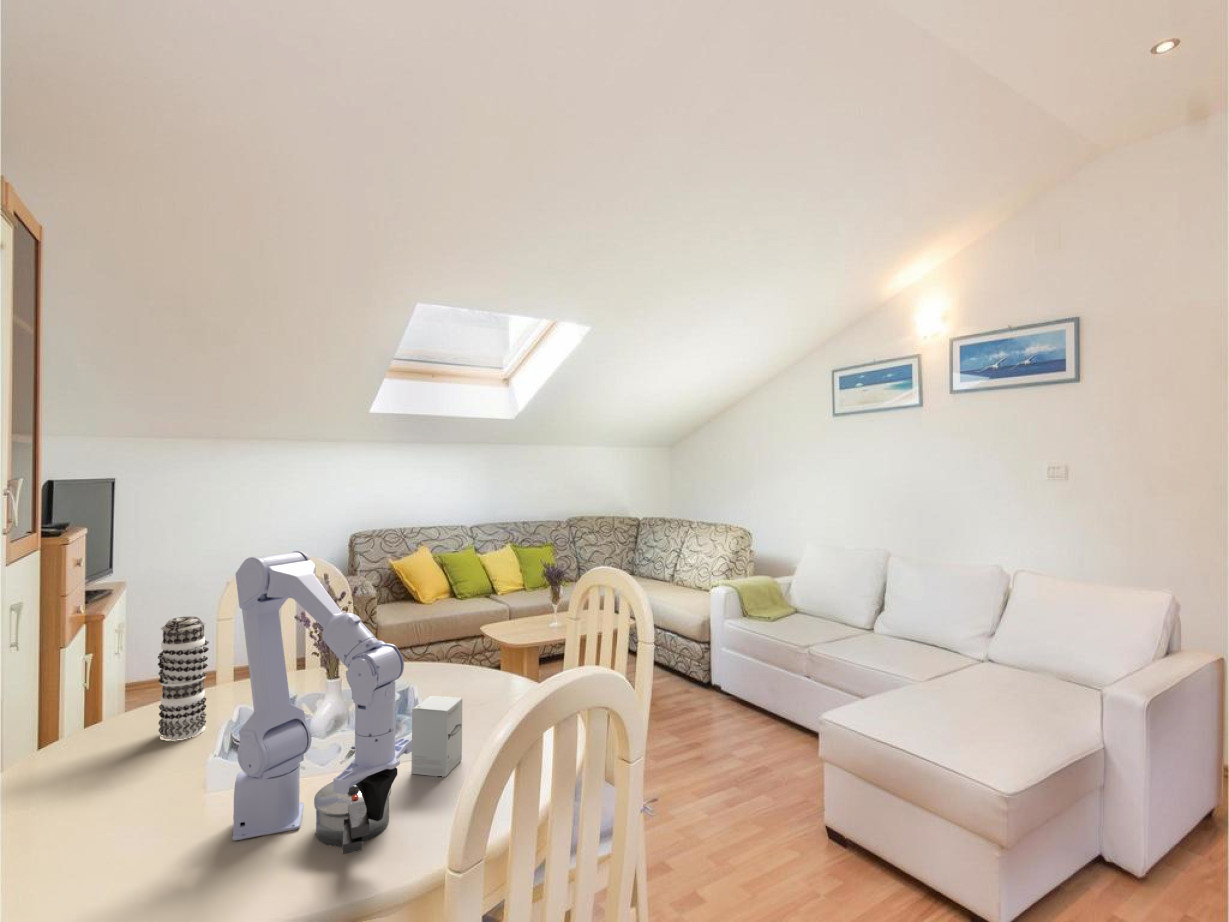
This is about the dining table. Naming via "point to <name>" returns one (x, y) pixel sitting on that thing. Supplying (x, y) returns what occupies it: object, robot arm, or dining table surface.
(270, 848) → the dining table surface
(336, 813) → the lid
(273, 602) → the robot arm
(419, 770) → the supplement box
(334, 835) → the pot
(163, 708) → the decorative candle
